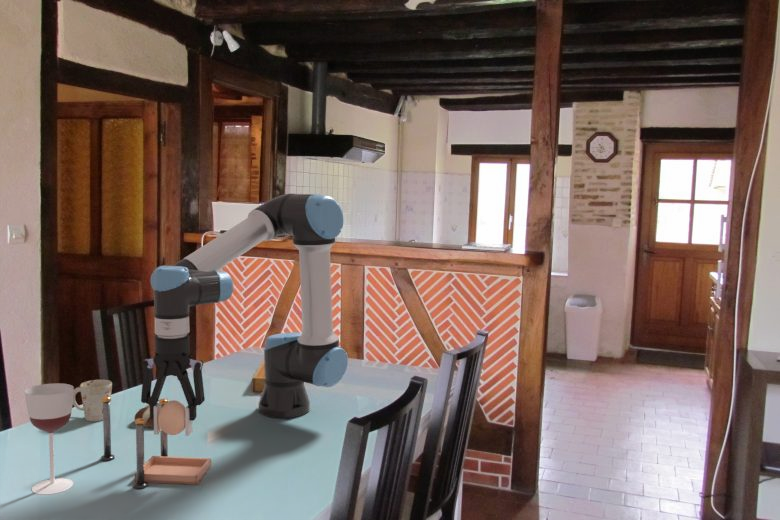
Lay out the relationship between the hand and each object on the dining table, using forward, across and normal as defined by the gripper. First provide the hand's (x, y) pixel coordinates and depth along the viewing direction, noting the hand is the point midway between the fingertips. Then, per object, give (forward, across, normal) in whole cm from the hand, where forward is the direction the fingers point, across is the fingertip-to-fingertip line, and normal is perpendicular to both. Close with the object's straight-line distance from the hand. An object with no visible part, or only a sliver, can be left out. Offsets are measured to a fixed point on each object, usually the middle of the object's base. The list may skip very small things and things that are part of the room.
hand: (173, 432), depth 161 cm
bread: (+10, -18, +34) cm, 40 cm away
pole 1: (+10, -19, +7) cm, 22 cm away
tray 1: (+10, 0, 0) cm, 10 cm away
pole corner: (+10, -5, +7) cm, 13 cm away
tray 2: (+11, +9, +80) cm, 81 cm away
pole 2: (+10, -5, -7) cm, 13 cm away
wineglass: (+10, -24, -9) cm, 27 cm away
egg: (+1, 0, 0) cm, 1 cm away
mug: (+10, -37, +35) cm, 52 cm away
